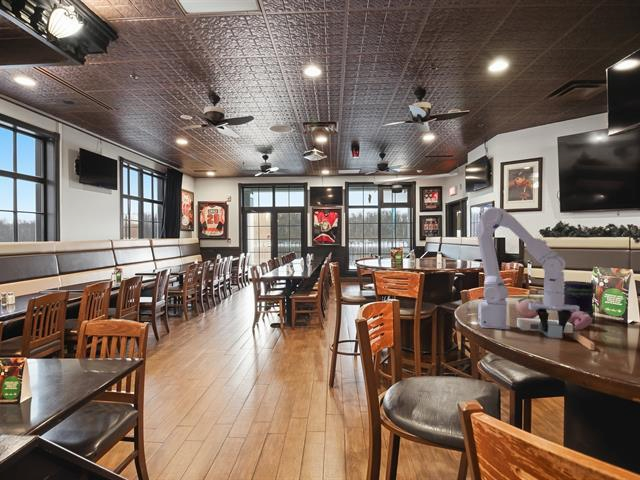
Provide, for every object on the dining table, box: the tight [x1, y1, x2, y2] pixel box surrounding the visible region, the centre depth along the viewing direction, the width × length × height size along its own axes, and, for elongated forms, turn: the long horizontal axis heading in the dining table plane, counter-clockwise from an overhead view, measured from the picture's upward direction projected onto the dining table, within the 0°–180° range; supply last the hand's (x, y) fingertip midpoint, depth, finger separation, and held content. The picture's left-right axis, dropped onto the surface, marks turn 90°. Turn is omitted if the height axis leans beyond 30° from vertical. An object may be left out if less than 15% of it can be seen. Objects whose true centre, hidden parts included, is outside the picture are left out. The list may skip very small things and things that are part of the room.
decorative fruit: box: [515, 294, 542, 319], centre depth 143 cm, size 9×8×10 cm
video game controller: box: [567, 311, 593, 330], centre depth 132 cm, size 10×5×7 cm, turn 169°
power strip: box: [516, 317, 574, 334], centre depth 128 cm, size 16×6×3 cm, turn 76°
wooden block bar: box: [572, 330, 595, 351], centre depth 111 cm, size 12×2×2 cm, turn 164°
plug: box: [539, 321, 563, 339], centre depth 121 cm, size 5×7×4 cm
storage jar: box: [564, 280, 595, 323], centre depth 144 cm, size 10×10×15 cm
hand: (552, 331), depth 120 cm, fingers closed on plug, 4 cm apart
